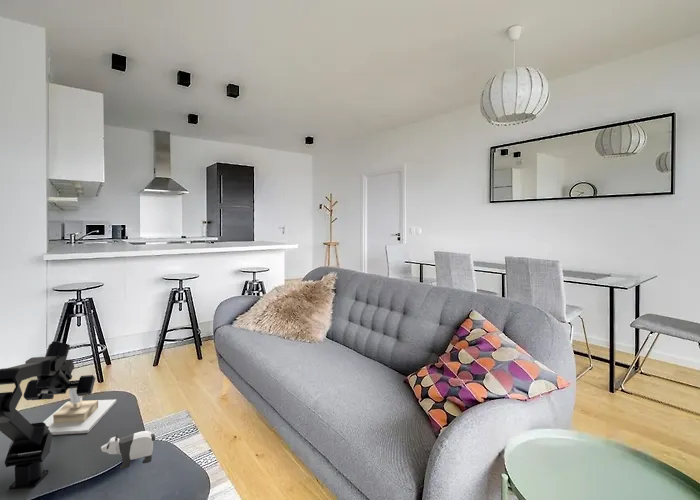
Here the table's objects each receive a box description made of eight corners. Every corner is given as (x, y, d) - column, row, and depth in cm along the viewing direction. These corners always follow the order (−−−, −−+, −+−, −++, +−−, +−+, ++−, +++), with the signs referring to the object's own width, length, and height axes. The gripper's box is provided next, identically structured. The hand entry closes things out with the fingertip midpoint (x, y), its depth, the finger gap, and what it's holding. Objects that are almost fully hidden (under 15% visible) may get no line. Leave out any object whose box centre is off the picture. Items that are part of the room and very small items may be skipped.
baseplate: (87, 432, 128) (87, 430, 128) (29, 436, 125) (29, 433, 124) (116, 401, 149) (116, 399, 149) (67, 403, 146) (67, 401, 146)
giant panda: (155, 451, 119) (155, 423, 118) (155, 462, 114) (155, 433, 113) (102, 463, 113) (101, 434, 112) (99, 474, 108) (98, 444, 107)
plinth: (84, 421, 133) (84, 413, 133) (53, 423, 131) (53, 415, 131) (98, 407, 143) (98, 400, 142) (69, 408, 141) (69, 401, 141)
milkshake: (69, 412, 133) (68, 385, 132) (68, 406, 137) (68, 380, 136) (84, 408, 136) (84, 382, 135) (83, 402, 140) (83, 377, 139)
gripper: (93, 353, 126) (104, 371, 137) (27, 357, 120) (44, 376, 131) (84, 385, 119) (96, 401, 130) (14, 391, 113) (33, 408, 124)
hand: (68, 395), depth 129 cm, fingers open, 9 cm apart
